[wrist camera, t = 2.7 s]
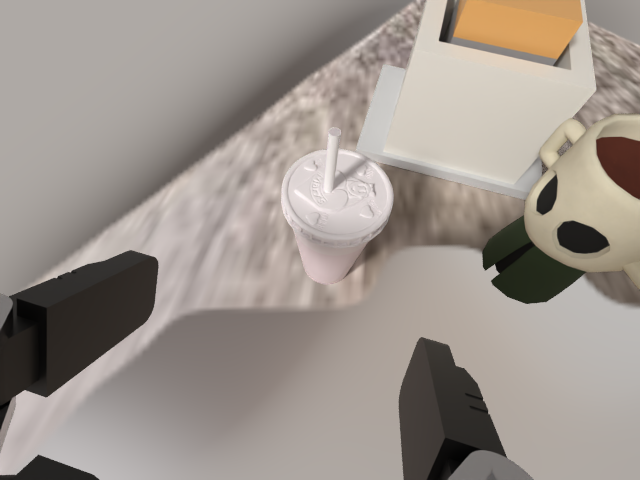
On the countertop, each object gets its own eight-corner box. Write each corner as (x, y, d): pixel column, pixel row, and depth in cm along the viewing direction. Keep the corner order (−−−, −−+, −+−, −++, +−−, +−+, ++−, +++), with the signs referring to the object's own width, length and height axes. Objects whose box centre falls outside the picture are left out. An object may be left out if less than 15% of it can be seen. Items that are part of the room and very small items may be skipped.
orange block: (519, 62, 32) (576, -33, 25) (517, 116, 28) (583, 22, 22) (440, 45, 33) (475, -53, 26) (429, 95, 29) (467, -2, 23)
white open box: (535, 107, 38) (615, -3, 28) (535, 202, 32) (638, 104, 22) (381, 72, 40) (407, -44, 30) (354, 156, 34) (376, 45, 24)
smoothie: (286, 228, 29) (276, 83, 17) (362, 227, 30) (405, 84, 18) (286, 302, 26) (274, 190, 14) (370, 299, 27) (431, 189, 14)
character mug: (448, 223, 30) (537, 98, 19) (519, 206, 32) (642, 79, 20) (515, 347, 26) (688, 280, 14) (595, 321, 27) (813, 240, 15)
